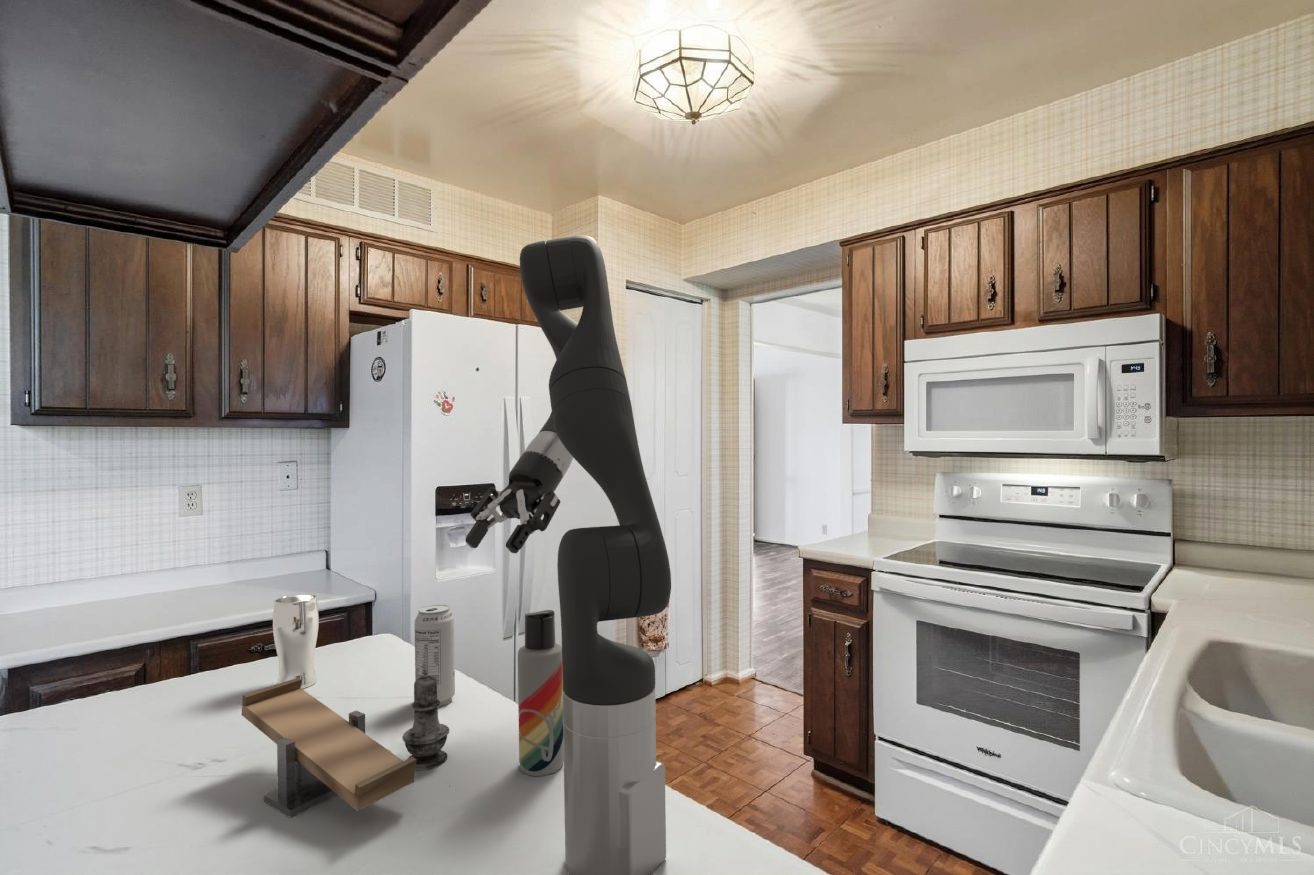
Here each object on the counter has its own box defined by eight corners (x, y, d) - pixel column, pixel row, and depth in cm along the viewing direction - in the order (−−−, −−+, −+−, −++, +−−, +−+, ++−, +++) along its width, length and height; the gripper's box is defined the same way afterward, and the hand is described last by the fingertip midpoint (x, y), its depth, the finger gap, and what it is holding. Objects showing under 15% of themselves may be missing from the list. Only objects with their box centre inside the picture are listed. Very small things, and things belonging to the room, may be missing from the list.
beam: (414, 781, 75) (416, 759, 75) (357, 811, 69) (359, 787, 69) (296, 696, 89) (298, 677, 89) (241, 714, 83) (242, 694, 83)
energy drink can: (463, 698, 106) (461, 606, 106) (433, 712, 100) (431, 615, 100) (437, 691, 109) (436, 602, 109) (407, 704, 103) (406, 610, 103)
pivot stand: (379, 774, 82) (378, 715, 82) (290, 817, 73) (289, 751, 73) (352, 761, 85) (351, 705, 85) (263, 801, 76) (263, 738, 76)
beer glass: (282, 678, 115) (281, 594, 115) (324, 675, 117) (323, 592, 117) (266, 693, 109) (265, 604, 109) (311, 690, 110) (310, 602, 110)
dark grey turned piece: (434, 773, 82) (433, 678, 82) (393, 769, 83) (391, 676, 83) (458, 751, 88) (456, 662, 88) (418, 747, 89) (417, 660, 89)
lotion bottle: (529, 781, 80) (527, 619, 80) (512, 762, 84) (510, 609, 84) (571, 768, 83) (569, 611, 83) (553, 750, 87) (550, 602, 87)
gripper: (499, 449, 106) (442, 528, 97) (565, 449, 98) (510, 535, 89) (522, 479, 111) (471, 558, 101) (587, 482, 103) (538, 567, 93)
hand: (489, 547), depth 95 cm, fingers open, 8 cm apart
